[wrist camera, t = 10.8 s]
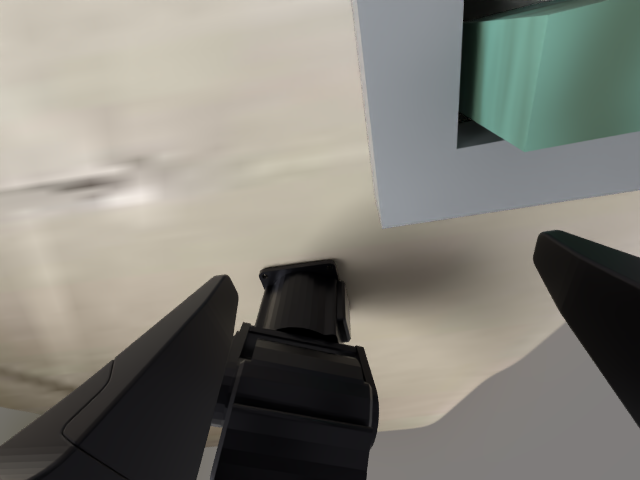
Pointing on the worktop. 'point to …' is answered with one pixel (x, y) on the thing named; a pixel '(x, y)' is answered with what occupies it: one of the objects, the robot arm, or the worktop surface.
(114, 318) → the worktop surface
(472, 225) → the worktop surface
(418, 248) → the worktop surface
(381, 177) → the socket block
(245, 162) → the worktop surface
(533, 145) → the peg
